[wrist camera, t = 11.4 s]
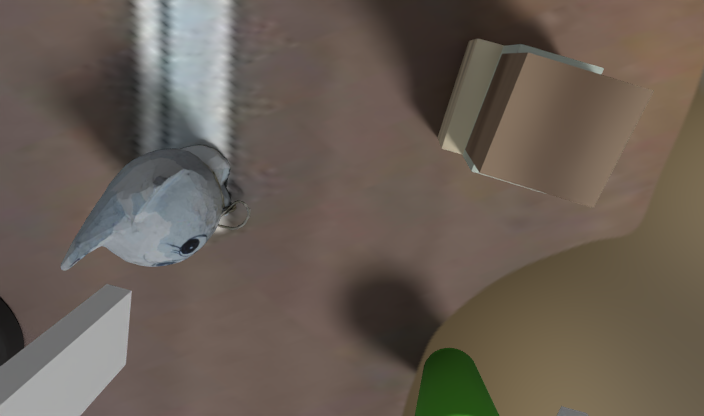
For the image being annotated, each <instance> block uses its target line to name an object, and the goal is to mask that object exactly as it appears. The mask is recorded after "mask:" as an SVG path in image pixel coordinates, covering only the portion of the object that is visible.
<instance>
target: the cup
mask: <svg viewBox="0 0 704 416" xmlns="http://www.w3.org/2000/svg"><path fill="white" fill-rule="evenodd" d="M415 416H499V414H498V412H497V410H496V408H495V406H494V403H493V401H492V399H491V397H490V395H489V393H488V391H487V389H486V387H485V385H484V382H483V380H482V378H481V376H480V374H479V372H478V370H477V367H476V366H475V363H474V361H473V360H472V359H471V358H470V356H468V355H467V354H466V353H464V352H463V351H461V350H458V349H454V348H444V349H440V350H437V351H435V352H434V353H433V354H431V355H430V357H429V358H428V359H427V360H426V362H425V365H424V370H423V375H422V380H421V385H420V390H419V396H418V401H417V407H416V412H415Z"/></svg>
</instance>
